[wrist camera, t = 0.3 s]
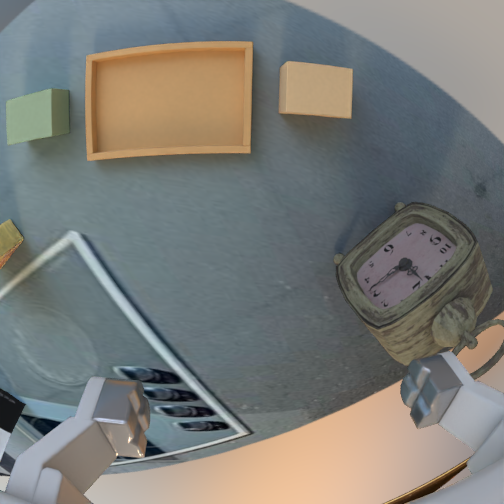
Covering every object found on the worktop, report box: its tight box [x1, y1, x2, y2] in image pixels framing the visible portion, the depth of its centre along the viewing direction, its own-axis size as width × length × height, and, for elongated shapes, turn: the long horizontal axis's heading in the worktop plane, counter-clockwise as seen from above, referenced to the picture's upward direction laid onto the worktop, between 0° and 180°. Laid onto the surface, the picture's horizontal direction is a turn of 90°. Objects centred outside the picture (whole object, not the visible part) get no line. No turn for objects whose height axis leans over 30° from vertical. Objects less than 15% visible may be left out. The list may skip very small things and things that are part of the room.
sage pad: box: [6, 88, 70, 145], centre depth 28 cm, size 6×7×4 cm
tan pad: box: [279, 61, 353, 118], centre depth 31 cm, size 6×7×4 cm
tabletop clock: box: [334, 202, 504, 380], centre depth 30 cm, size 14×9×25 cm, turn 131°
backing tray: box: [85, 41, 253, 161], centre depth 31 cm, size 13×19×2 cm
